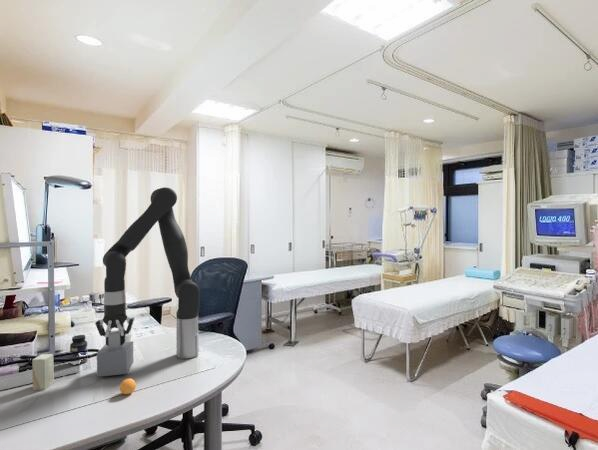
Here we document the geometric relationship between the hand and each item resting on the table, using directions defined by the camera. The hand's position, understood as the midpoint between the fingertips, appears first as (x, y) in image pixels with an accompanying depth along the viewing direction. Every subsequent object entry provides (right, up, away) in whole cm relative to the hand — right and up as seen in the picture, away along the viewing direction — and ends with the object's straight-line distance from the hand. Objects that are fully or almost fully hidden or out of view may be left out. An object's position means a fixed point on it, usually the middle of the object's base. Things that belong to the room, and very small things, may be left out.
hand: (115, 344), depth 131 cm
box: (-20, -12, -11) cm, 26 cm away
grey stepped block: (0, -10, 0) cm, 10 cm away
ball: (+13, -9, -15) cm, 22 cm away
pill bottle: (-21, -11, +10) cm, 26 cm away
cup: (-10, -11, +23) cm, 27 cm away
